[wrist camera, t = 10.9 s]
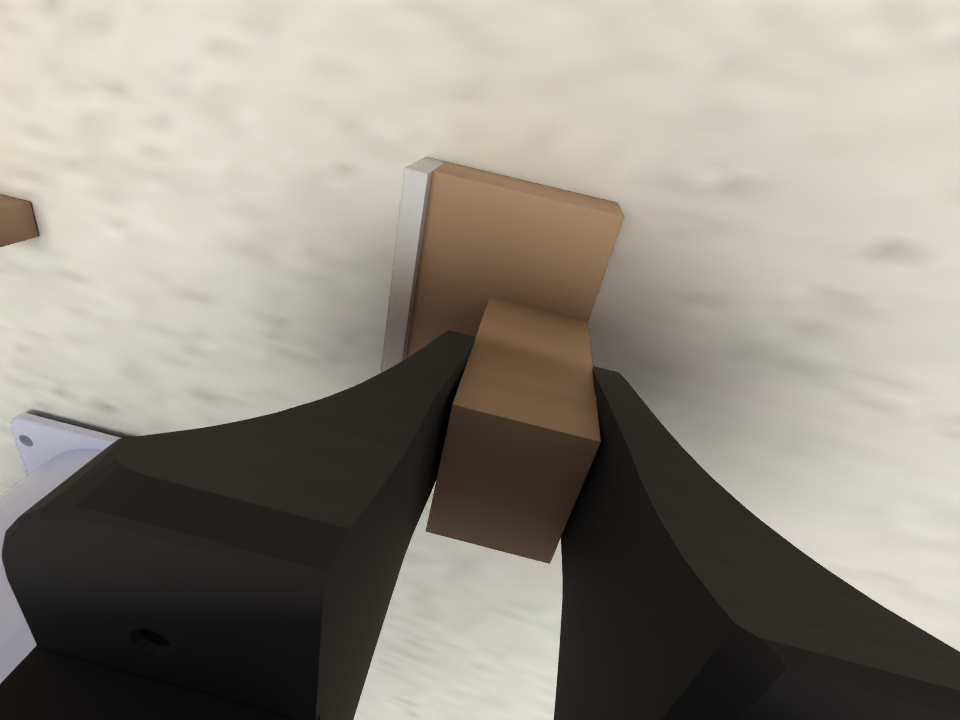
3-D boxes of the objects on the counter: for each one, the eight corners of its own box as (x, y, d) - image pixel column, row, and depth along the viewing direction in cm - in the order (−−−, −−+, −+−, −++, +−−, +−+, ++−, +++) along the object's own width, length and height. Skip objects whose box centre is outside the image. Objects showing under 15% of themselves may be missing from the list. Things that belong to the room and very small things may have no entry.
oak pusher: (533, 455, 16) (518, 638, 11) (389, 419, 16) (306, 582, 11) (617, 202, 12) (660, 297, 7) (425, 157, 12) (317, 213, 7)
